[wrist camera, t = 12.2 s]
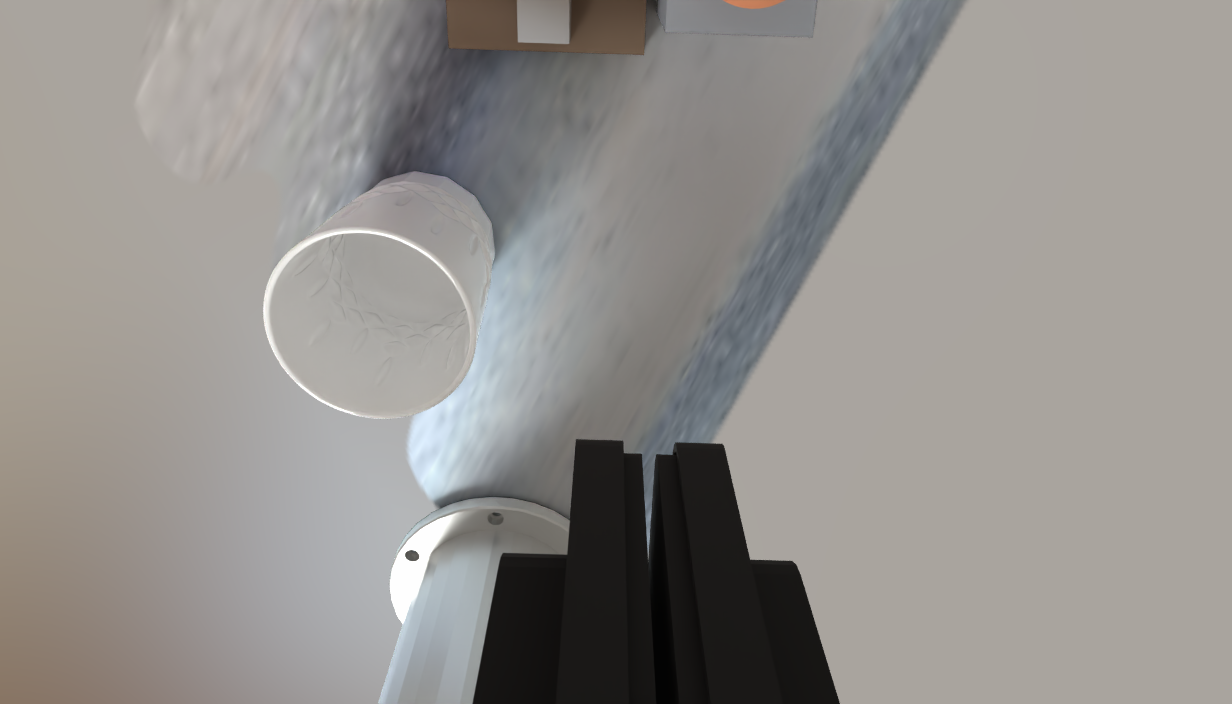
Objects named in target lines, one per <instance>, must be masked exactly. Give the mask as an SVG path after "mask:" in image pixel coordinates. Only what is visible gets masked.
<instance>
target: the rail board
mask: <svg viewBox="0 0 1232 704" xmlns="http://www.w3.org/2000/svg"><path fill="white" fill-rule="evenodd" d="M446 9H447V28H448V46H449V48H453V49H483V50H513V51H543V52H573V53H603V54H633V55H644V45H645V22H646V0H446Z"/></svg>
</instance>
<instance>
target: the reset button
mask: <svg viewBox="0 0 1232 704" xmlns="http://www.w3.org/2000/svg"><path fill="white" fill-rule="evenodd" d="M723 1H725V2H727V3H729V4H731V5H734V6H737V7H741V8H748V9H760V8H766V7H770V6H773V5H776V4H778V3H781V2H783V1H785V0H723Z"/></svg>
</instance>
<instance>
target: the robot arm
mask: <svg viewBox="0 0 1232 704" xmlns="http://www.w3.org/2000/svg"><path fill="white" fill-rule="evenodd" d="M389 586H390V593H391V594H390V595H391V600H392V603H393V606H394V609H395V611H396V614H397V616H398V617H399V619H400V620H401V622H402V623H403V625H402V628H401V632H400V635H399V638H398V641H397V644H396V648H395V651H394V654H393V657H392V660H391V664H390V667H389V670H388V673H387V677H386V680H385V683H384V686H383V689H382V693H381V696H380V699H379V702H378V704H840V703H839V699H838V696H837V693H836V690H835V686H834V683H833V680H832V676H831V673H830V670H829V667H828V663H827V660H826V657H825V654H824V650H823V647H822V644H821V640H820V637H819V634H818V631H817V627H816V624H815V621H814V618H813V615H812V611H811V607H810V604H809V601H808V598H807V594H806V591H805V588H804V585H803V581H802V578H801V575H800V572H799V570H798V568H797V565H796V564H795V563H794V562H793V561H772V560H750V558H749V553H748V549H747V544H746V540H745V536H744V531H743V527H742V522H741V518H740V514H739V509H738V505H737V500H736V496H735V492H734V488H733V483H732V479H731V474H730V470H729V465H728V461H727V457H726V452H725V448H724V445H723V444H710V443H678V442H675V444H674V449H673V455H660V454H656V459H655V470H654V485H653V499H652V514H651V529H650V544H649V559H648V553H647V536H646V518H645V501H644V484H643V467H642V454H627V453H624V449H623V441H613V440H581V439H576V446H575V459H574V472H573V485H572V498H571V511H570V520H568V519H567V518H565V517H563V516H562V515H560V514H558V513H557V512H555V511H553V510H551V509H548V508H546V507H543V506H541V505H538V504H535V503H532V502H527V501H523V500H518V499H514V498H500V497H485V498H474V499H468V500H464V501H460V502H456V503H452V504H449V505H447V506H445V507H443V508H441V509H438V510H436V511H434V512H432V513H431V514H429V515H428V516H426V517H425V518H424V519H422V520H421V521H419V522H418V523H417V524H416V525H415V526H414V527H413V528H412V529H411V530H410V531H409V533H408V534H407V535H406V536H405V538H404V540H403V541H402V543H401V545H400V547H399V548H398V550H397V553H396V556H395V559H394V562H393V564H392V567H391V574H390V581H389Z"/></svg>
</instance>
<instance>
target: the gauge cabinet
mask: <svg viewBox="0 0 1232 704" xmlns="http://www.w3.org/2000/svg"><path fill="white" fill-rule="evenodd" d="M816 7H817V0H785V1H783V2H781V3H778V4H776V5H773V6H770V7H766V8H760V9H748V8H741V7H737V6H734V5H731V4H729V3H727V2H725V1H723V0H657V8H656V12H657V14H658V17H659V19H660V21H661V24H662V26H663V28H664V31H665V33H695V34H725V35H754V36H784V37H813V31H814V23H815V15H816Z"/></svg>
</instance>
